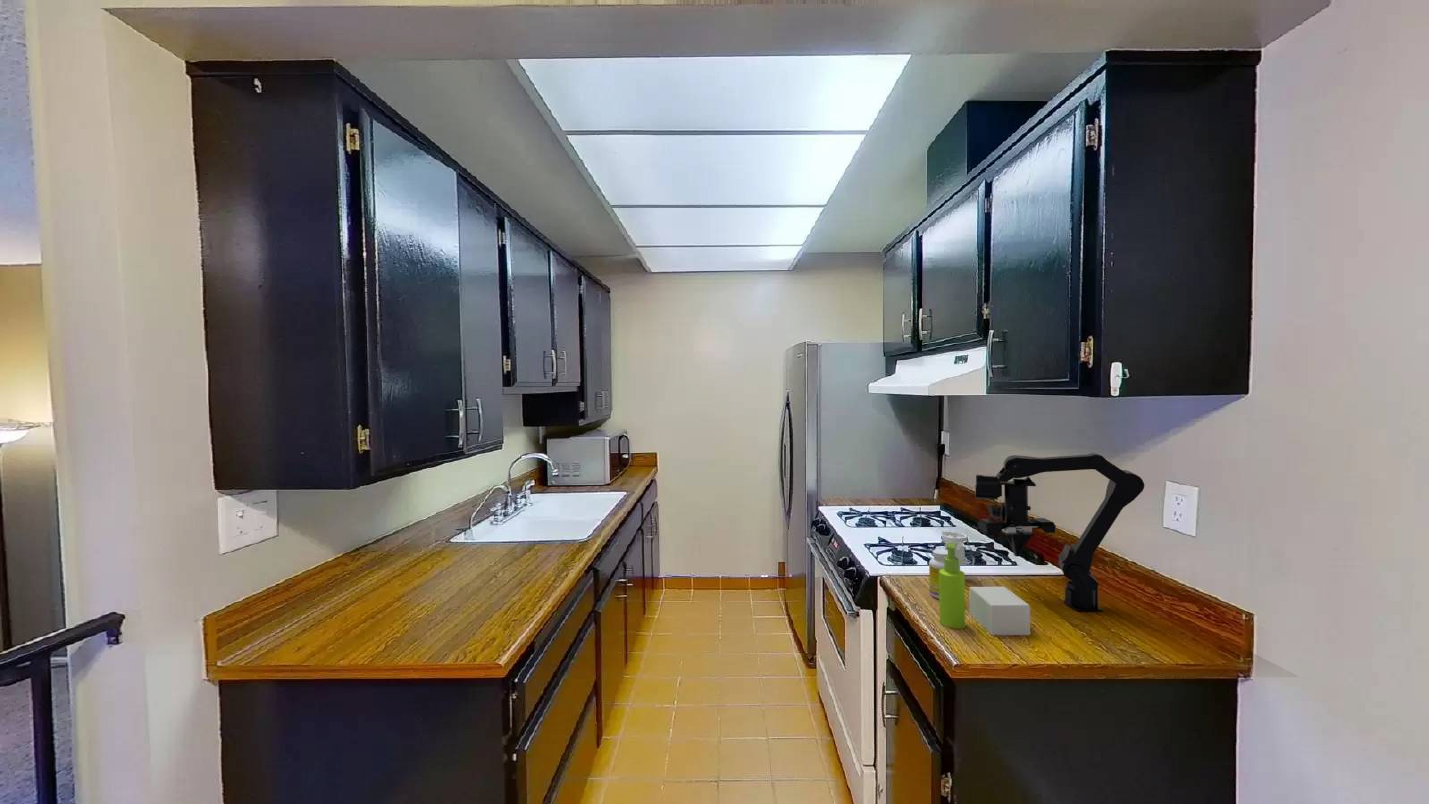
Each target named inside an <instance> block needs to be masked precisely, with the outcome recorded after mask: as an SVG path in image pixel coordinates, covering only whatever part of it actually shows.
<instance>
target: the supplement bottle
mask: <svg viewBox="0 0 1429 804" xmlns="http://www.w3.org/2000/svg"><path fill="white" fill-rule="evenodd" d="M932 556H933V558H931V559H930V560H929V562H928V563H929V571H928V572H929V579H928V580H929V581H928V582H929V594H930V596H931V597H933V598H935V599H938V600H939V570H940V569H944V557H946V556H948V551H947V550H945V549H942V548H941V549H940V548H936V549H933V551H932Z"/></svg>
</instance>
